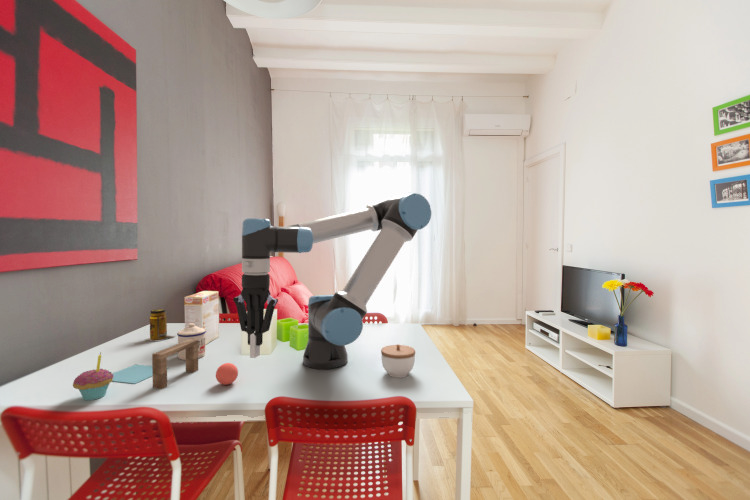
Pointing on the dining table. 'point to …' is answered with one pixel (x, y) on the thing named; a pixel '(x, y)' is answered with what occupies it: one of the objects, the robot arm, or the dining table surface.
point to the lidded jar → (398, 360)
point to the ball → (226, 373)
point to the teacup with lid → (193, 334)
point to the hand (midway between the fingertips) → (254, 356)
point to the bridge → (161, 361)
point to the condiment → (158, 325)
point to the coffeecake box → (203, 313)
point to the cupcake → (93, 382)
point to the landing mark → (133, 374)
